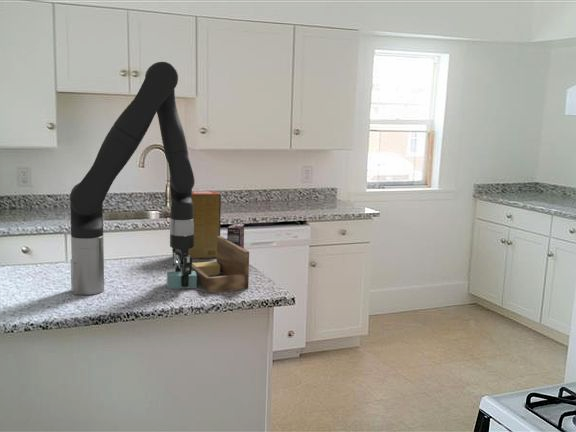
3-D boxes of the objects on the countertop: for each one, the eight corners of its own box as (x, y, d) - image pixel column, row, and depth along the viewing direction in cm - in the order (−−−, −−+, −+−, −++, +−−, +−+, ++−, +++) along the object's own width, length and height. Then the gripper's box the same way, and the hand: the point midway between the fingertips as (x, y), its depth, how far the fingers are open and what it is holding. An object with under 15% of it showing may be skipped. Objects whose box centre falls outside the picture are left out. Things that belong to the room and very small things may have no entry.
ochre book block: (193, 276, 199) (193, 266, 198) (190, 272, 204) (190, 263, 203) (219, 275, 202) (220, 265, 202) (216, 271, 207) (216, 261, 207)
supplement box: (231, 265, 215) (231, 223, 212) (244, 266, 214) (245, 223, 212) (226, 271, 206) (226, 227, 204) (239, 272, 206) (240, 228, 203)
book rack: (208, 292, 181) (209, 254, 179) (184, 271, 204) (184, 238, 202) (248, 288, 187) (249, 251, 185) (220, 268, 210) (220, 235, 208)
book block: (167, 288, 183) (167, 276, 183) (166, 283, 189) (166, 271, 188) (196, 287, 186) (196, 275, 185) (195, 282, 191) (195, 271, 190)
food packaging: (215, 252, 235) (216, 190, 230) (220, 257, 226) (221, 193, 222) (182, 253, 230) (183, 190, 226) (186, 259, 222) (186, 194, 217)
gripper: (164, 228, 189) (164, 278, 192) (176, 237, 176) (176, 291, 179) (186, 227, 192) (186, 276, 195) (200, 236, 180) (200, 288, 182)
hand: (181, 283), depth 187 cm, fingers closed on book block, 6 cm apart
